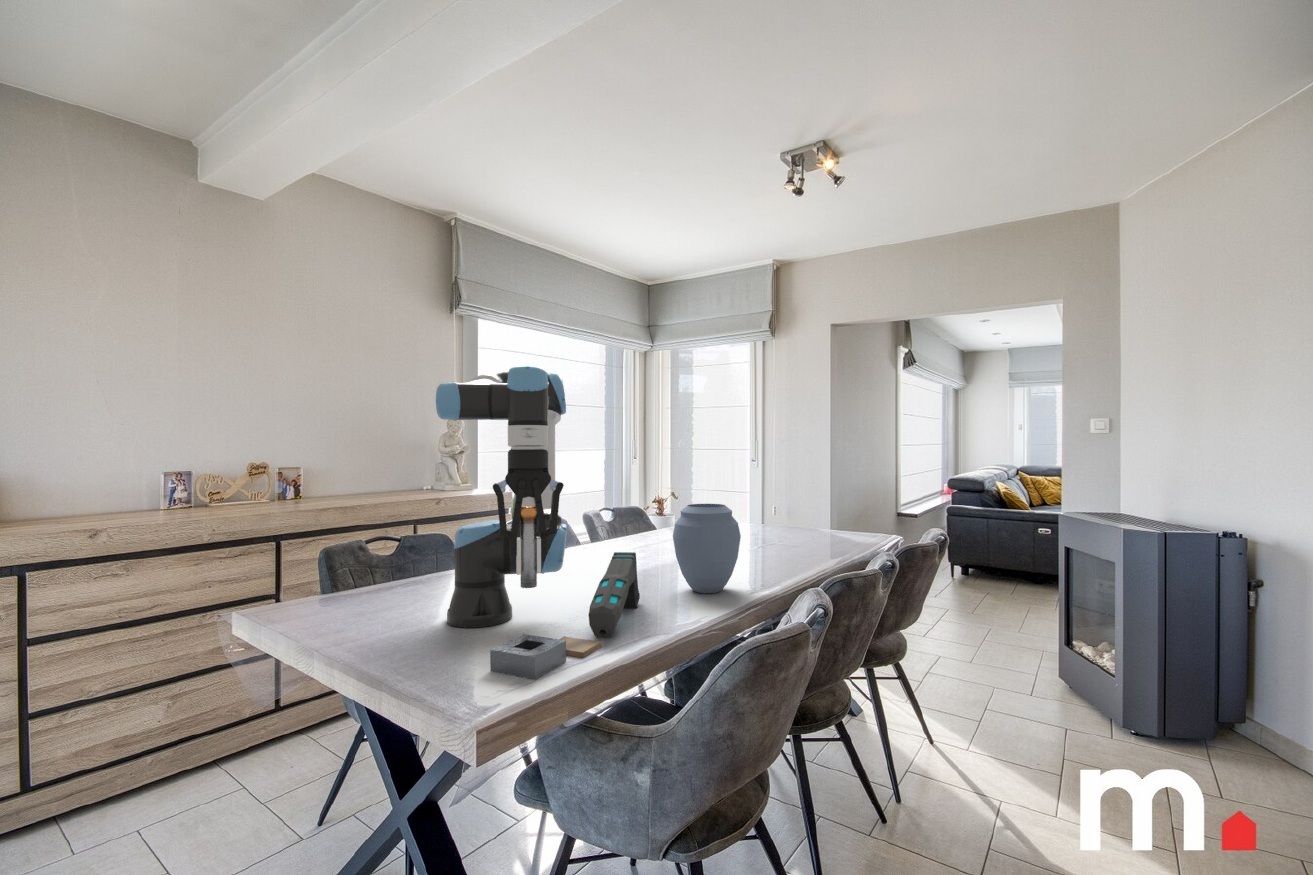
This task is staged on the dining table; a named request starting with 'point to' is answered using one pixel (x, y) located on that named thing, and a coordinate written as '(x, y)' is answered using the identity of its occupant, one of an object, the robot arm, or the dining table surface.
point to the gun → (614, 594)
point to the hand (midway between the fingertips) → (528, 572)
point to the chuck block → (528, 656)
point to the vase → (706, 546)
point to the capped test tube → (528, 546)
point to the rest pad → (580, 646)
